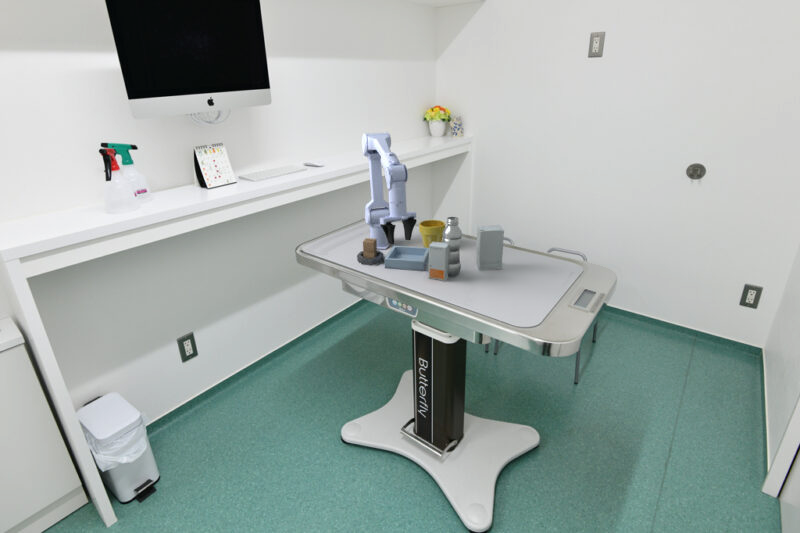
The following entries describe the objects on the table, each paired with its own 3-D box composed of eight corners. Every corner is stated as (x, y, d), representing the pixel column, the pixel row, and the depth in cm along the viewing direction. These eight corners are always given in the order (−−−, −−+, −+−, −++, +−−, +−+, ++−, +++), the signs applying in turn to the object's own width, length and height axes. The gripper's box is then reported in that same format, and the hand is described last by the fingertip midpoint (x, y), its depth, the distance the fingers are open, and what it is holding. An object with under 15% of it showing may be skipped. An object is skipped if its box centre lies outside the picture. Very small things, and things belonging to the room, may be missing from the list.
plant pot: (413, 245, 182) (413, 222, 178) (434, 240, 187) (434, 217, 184) (429, 253, 174) (429, 228, 170) (450, 247, 179) (451, 224, 176)
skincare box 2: (498, 263, 164) (501, 224, 158) (502, 270, 158) (505, 229, 152) (475, 264, 163) (477, 224, 158) (478, 270, 158) (480, 230, 152)
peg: (367, 258, 170) (366, 238, 167) (377, 259, 169) (376, 238, 166) (363, 262, 167) (362, 241, 163) (374, 263, 166) (373, 242, 163)
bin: (393, 254, 174) (393, 245, 172) (429, 256, 171) (430, 247, 169) (384, 268, 161) (384, 258, 160) (423, 271, 158) (423, 261, 157)
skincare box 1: (428, 278, 152) (428, 245, 148) (432, 273, 156) (432, 241, 151) (445, 281, 150) (446, 247, 145) (449, 276, 154) (450, 243, 149)
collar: (362, 255, 173) (362, 249, 172) (385, 256, 171) (385, 250, 170) (355, 264, 165) (354, 257, 164) (379, 266, 163) (378, 259, 162)
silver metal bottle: (448, 269, 159) (449, 214, 152) (464, 274, 155) (466, 218, 147) (437, 274, 155) (438, 218, 147) (453, 280, 151) (455, 222, 143)
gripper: (388, 206, 143) (390, 247, 147) (421, 200, 152) (423, 239, 156) (374, 204, 148) (377, 244, 152) (407, 198, 157) (409, 236, 161)
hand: (399, 241), depth 154 cm, fingers open, 7 cm apart
